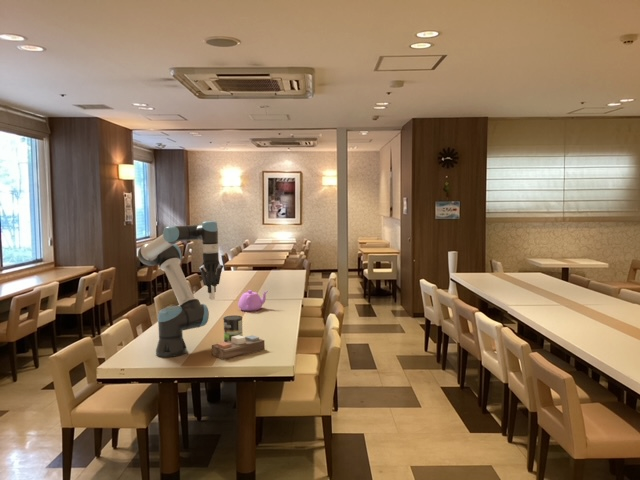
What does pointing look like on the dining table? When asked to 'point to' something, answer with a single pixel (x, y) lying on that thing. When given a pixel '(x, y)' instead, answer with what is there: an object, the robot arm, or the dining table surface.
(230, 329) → the coffee can
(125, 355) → the dining table surface
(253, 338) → the slate key
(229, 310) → the dining table surface
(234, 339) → the ivory key
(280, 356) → the dining table surface
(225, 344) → the terracotta key
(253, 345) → the key console
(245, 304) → the teapot
